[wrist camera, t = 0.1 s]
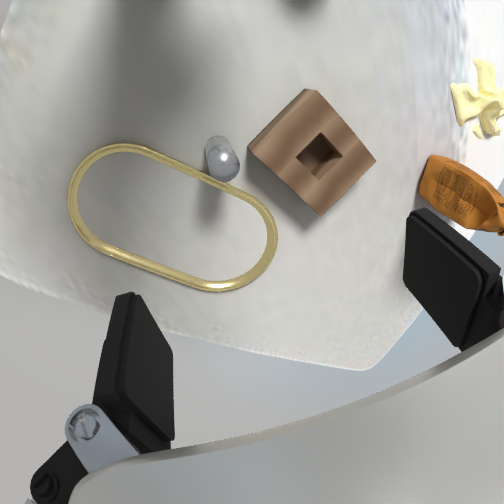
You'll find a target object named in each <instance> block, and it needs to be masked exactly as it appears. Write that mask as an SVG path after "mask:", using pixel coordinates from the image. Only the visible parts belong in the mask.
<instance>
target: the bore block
mask: <svg viewBox="0 0 504 504" xmlns="http://www.w3.org/2000/svg"><path fill="white" fill-rule="evenodd" d="M248 148H249V149H250V150H251V152H252V153H253V154H254V155H255V156H256V157H257V158H258V159H260V160H261V161H262V162H263V163H264V164H265V165H266V166H267V167H268V168H269V169H271V170H272V171H273V172H274V173H275V174H276V175H277V176H278V177H279V178H280V179H282V180H283V181H284V182H285V183H286V184H287V185H288V186H289V187H290V188H291V189H292V190H293V191H294V192H295V193H296V194H298V195H299V196H300V197H301V198H302V199H303V200H304V201H305V202H306V203H307V204H308V205H309V206H310V207H311V208H312V209H313V210H314V211H315V212H316V213H317V214H318V215H319V216H320V217H321V216H322V215H323V214H324V213H325V212H326V211H327V210H328V209H329V208H330V207H331V206H332V205H333V204H334V203H335V202H336V201H337V200H338V199H339V198H340V197H341V196H342V195H343V194H344V193H345V192H346V191H347V190H348V189H349V188H350V187H351V186H352V185H353V184H354V183H355V182H356V181H357V180H358V179H359V178H360V177H361V176H362V175H363V174H364V173H365V172H366V171H367V170H368V169H369V168H370V167H371V166H372V165H373V164H374V163H375V162H376V160H375V159H374V157H373V156H372V155H371V153H370V152H369V151H368V150H367V148H366V147H365V146H364V144H363V143H362V142H361V141H360V139H359V138H358V137H357V136H356V135H355V133H354V132H353V131H352V130H351V129H350V127H349V126H348V125H347V124H346V123H345V121H344V120H343V119H342V118H341V117H340V116H339V114H338V113H337V112H336V111H335V110H334V109H333V108H332V106H331V105H330V104H329V103H328V102H327V101H326V100H325V99H324V97H323V96H322V95H321V94H320V93H319V92H318V91H317V90H310V89H304V90H303V91H302V92H301V93H300V94H299V95H298V96H297V97H295V98H294V99H293V100H292V101H291V102H290V103H289V104H288V105H287V106H286V107H285V108H284V109H283V110H282V111H281V112H280V113H279V114H278V115H277V116H276V117H275V118H274V119H273V120H272V121H271V122H270V123H269V124H268V125H267V126H266V127H265V128H264V129H263V130H262V131H261V132H260V133H259V134H258V135H257V136H256V137H255V138H254V140H253V141H252V142H251V143H250V144H249V145H248Z"/></svg>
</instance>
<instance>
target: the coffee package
mask: <svg viewBox="0 0 504 504" xmlns="http://www.w3.org/2000/svg"><path fill="white" fill-rule="evenodd" d="M419 195H420V196H421V197H423V198H425V199H426V200H427V201H428V202H429V203H430V204H431V205H432V206H433V207H434V208H435V209H436V210H437V211H438V212H440V213H441V214H443V215H445V216H446V217H448V218H450V219H451V220H453V221H454V222H456V223H458V224H459V225H461V226H463V227H464V228H466V229H473V230H482V231H486V232H497V234H498V235H499V236H503V235H504V198H503V197H502V196H501V194H500V193H499V192H498V191H497V190H496V189H495V188H494V187H493V186H492V185H491V184H490V183H489V182H488V181H487V180H485V179H484V178H483V177H481V176H480V175H478V174H477V173H476V172H474V171H473V170H471V169H469V168H468V167H466V166H464V165H462V164H460V163H458V162H456V161H454V160H452V159H449V158H446V157H442V156H437V155H431V156H430V157H429V159H428V162H427V165H426V168H425V172H424V175H423V178H422V180H421V183H420V188H419Z"/></svg>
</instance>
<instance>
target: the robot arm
mask: <svg viewBox="0 0 504 504" xmlns="http://www.w3.org/2000/svg"><path fill="white" fill-rule="evenodd" d="M500 270H501V268H500V267H499V266H498V265H497V264H496V263H494V262H493V261H492V260H491V259H490V258H489V257H488V256H486V255H485V254H484V253H483V252H482V251H480V250H479V249H478V248H477V247H476V246H474V245H473V244H472V243H471V242H470V241H468V240H467V239H466V238H465V237H463V236H462V235H461V234H460V233H458V232H457V231H456V230H455V229H453V228H452V227H451V226H449V225H448V224H447V223H446V222H444V221H443V220H442V219H440V218H439V217H438V216H436V215H435V214H434V213H432V212H431V211H429V210H428V209H426V208H422V209H418V210H415V211H412V212H410V214H409V217H407V220H406V240H405V257H404V270H403V281H404V284H405V286H406V287H407V288H408V289H409V291H410V292H411V293H412V294H413V295H414V297H415V298H416V299H417V300H418V301H419V303H420V304H421V305H422V306H423V308H424V309H425V310H426V311H427V312H428V314H429V315H430V316H431V317H432V319H433V320H434V321H435V322H436V324H437V325H438V326H439V328H440V329H441V330H442V331H443V333H444V334H445V335H446V337H447V338H448V339H449V341H450V342H451V343H452V345H453V346H455V347H459V349H460V350H461V353H460V354H458V355H456V356H454V357H452V358H450V359H448V360H447V361H445V362H443V363H441V364H439V365H437V366H435V367H433V368H431V369H429V370H427V371H425V372H423V373H421V374H418V375H416V376H414V377H412V378H410V379H408V380H406V381H404V382H401V383H399V384H397V385H394V386H392V387H390V388H387V389H385V390H383V391H381V392H378V393H376V394H373V395H370V396H368V397H366V398H363V399H360V400H358V401H355V402H352V403H350V404H347V405H345V406H342V407H339V408H336V409H333V410H330V411H327V412H324V413H321V414H318V415H315V416H312V417H309V418H306V419H303V420H299V421H296V422H292V423H289V424H286V425H282V426H279V427H275V428H271V429H267V430H263V431H259V432H255V433H251V434H247V435H243V436H238V437H234V438H229V439H224V440H219V441H214V442H209V443H205V444H199V445H194V446H189V447H182V448H176V449H171V444H170V443H171V442H170V441H172V440H174V438H175V430H174V399H173V353H172V350H171V347H170V346H169V344H168V342H167V341H166V339H165V338H164V336H163V334H162V332H161V331H160V329H159V327H158V325H157V324H156V322H155V320H154V318H153V317H152V315H151V313H150V311H149V309H148V308H147V306H146V304H145V302H144V300H143V299H142V297H141V296H140V295H139V294H138V295H135V293H134V292H129V293H125V294H122V295H118V296H116V298H115V302H114V306H113V310H112V314H111V319H110V323H109V327H108V332H107V336H106V340H105V341H104V344H103V349H102V353H101V358H100V363H99V368H98V373H97V379H96V384H95V389H94V396H93V402H92V404H85V405H82V406H79V407H78V408H76V409H75V410H74V411H73V412H72V413H71V414H70V415H69V417H68V419H67V421H66V425H65V435H66V438H67V441H66V443H64V444H63V445H62V446H61V447H60V448H59V449H58V450H57V451H56V452H55V453H54V454H53V455H52V456H51V457H50V458H49V460H47V461H46V462H45V463H44V464H43V465H42V466H41V467H40V468H39V469H38V470H37V471H36V472H35V474H34V475H33V477H32V480H31V485H30V490H31V495H32V497H33V498H32V500H30V499H27V501H26V503H25V504H504V276H503V277H501V276H500V275H499V274H500Z"/></svg>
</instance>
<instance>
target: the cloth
mask: <svg viewBox="0 0 504 504" xmlns="http://www.w3.org/2000/svg"><path fill="white" fill-rule="evenodd" d="M473 63H474V64H475V67H476V69H477V73H478V85H479V93H478V94H476V93H474V91H473V89H472V87H471V86H470V85H468V84H465V83H462V84H455V83H452V84H451V85H450V88H451V92H452V96H453V101H454V106H455V110H456V117H457V122H458V124H459V126H460V127H461V126H463V124H464V123H465V121H466V120H468V119H469V118H472V117H475V116H477V115H479V118H480V123H481V126H482V129H483V130H484V132H486V133H487V134H490V135H491V136H499V135H500V127H499V125H497V124H496V118H498V117H500V116H502V115H503V114H504V88H499V87H498V88H496V69H495V65H494V64H493V63H491V62H489V61H487V60H485V59H482V58H478V57H474V58H473ZM473 132H474V133H475V134H476V136H477V137H478V139H483V138H482V134H481V130H480V126H479V125H477V124H475V125H474V128H473Z"/></svg>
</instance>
